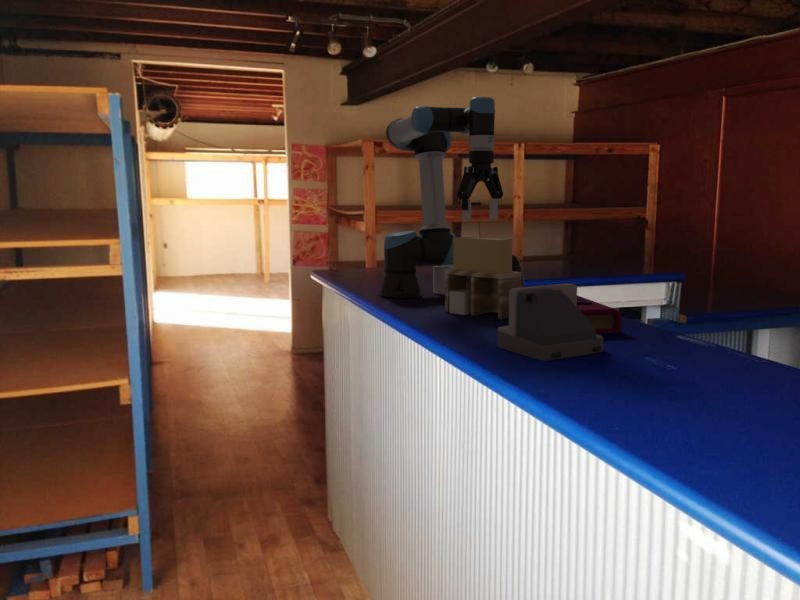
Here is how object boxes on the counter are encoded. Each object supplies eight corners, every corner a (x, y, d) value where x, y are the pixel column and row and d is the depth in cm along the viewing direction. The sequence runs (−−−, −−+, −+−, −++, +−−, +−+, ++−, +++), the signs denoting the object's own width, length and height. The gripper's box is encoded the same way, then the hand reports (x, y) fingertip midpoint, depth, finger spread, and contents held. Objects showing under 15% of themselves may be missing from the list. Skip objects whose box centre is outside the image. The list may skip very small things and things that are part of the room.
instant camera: (564, 338, 177) (566, 280, 175) (614, 355, 158) (616, 290, 155) (490, 344, 170) (491, 284, 168) (532, 363, 151) (534, 295, 148)
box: (449, 313, 215) (449, 291, 214) (465, 310, 221) (465, 288, 220) (464, 315, 211) (464, 292, 210) (480, 312, 217) (480, 290, 215)
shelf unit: (445, 311, 217) (445, 269, 215) (465, 307, 225) (465, 267, 223) (501, 319, 203) (501, 275, 201) (520, 315, 210) (521, 272, 208)
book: (578, 316, 209) (579, 292, 207) (621, 335, 181) (622, 306, 180) (512, 319, 206) (512, 294, 204) (544, 338, 178) (545, 309, 177)
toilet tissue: (429, 291, 263) (429, 265, 261) (458, 290, 266) (458, 264, 265) (438, 295, 252) (438, 268, 251) (469, 293, 256) (469, 267, 254)
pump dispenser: (489, 295, 252) (490, 253, 250) (513, 293, 257) (514, 252, 254) (505, 298, 243) (505, 255, 241) (529, 296, 248) (530, 254, 245)
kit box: (500, 273, 204) (500, 240, 202) (453, 269, 216) (453, 237, 215) (511, 272, 208) (512, 239, 206) (465, 268, 220) (465, 236, 219)
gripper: (465, 148, 197) (464, 222, 201) (515, 151, 215) (513, 219, 219) (445, 149, 202) (445, 221, 206) (495, 152, 220) (494, 218, 224)
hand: (480, 220), depth 212 cm, fingers open, 13 cm apart
